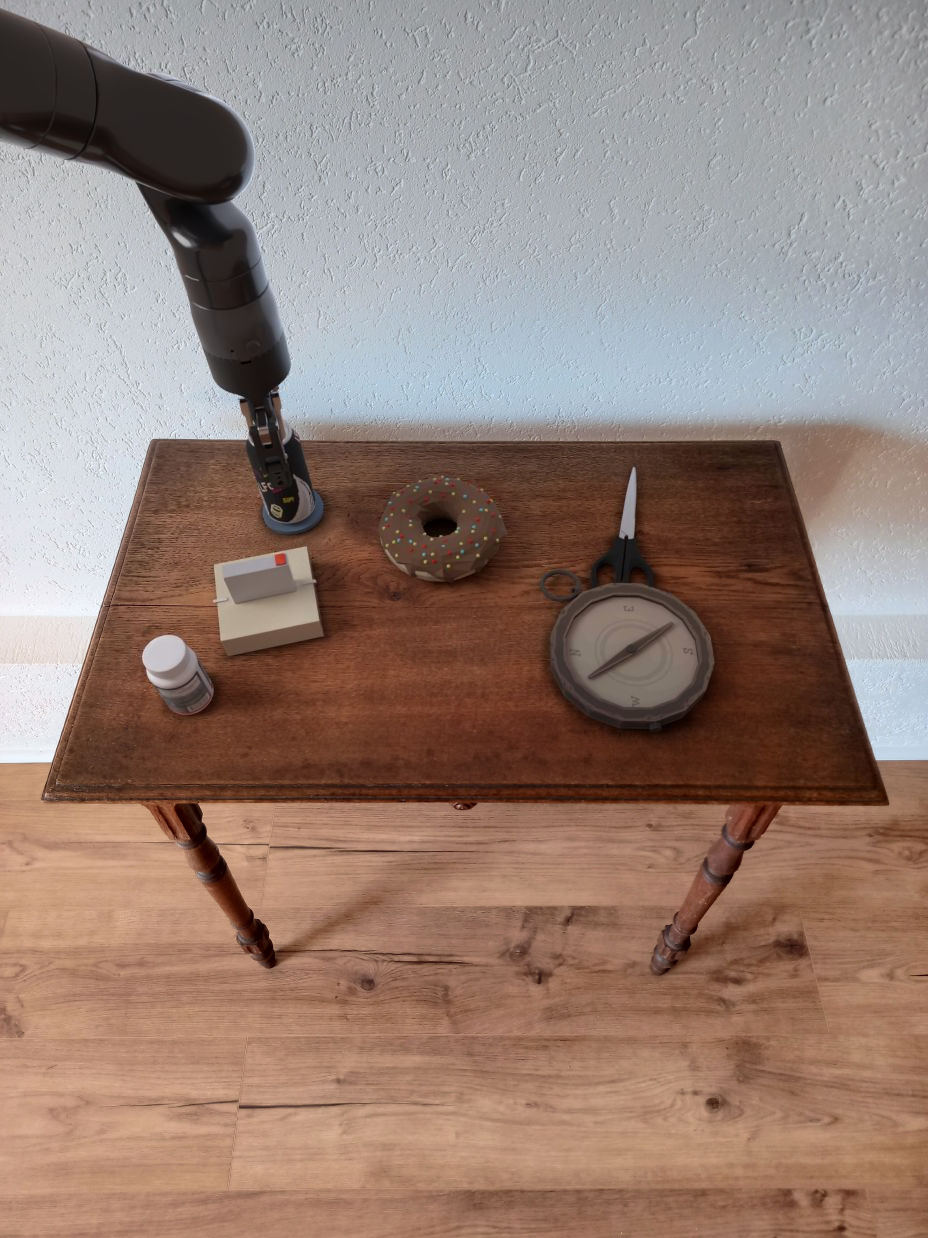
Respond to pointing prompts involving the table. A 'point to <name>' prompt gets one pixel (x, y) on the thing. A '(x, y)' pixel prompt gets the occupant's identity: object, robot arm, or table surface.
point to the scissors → (617, 550)
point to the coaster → (298, 526)
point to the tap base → (270, 610)
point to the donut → (445, 553)
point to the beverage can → (289, 500)
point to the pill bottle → (177, 675)
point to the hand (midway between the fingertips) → (278, 458)
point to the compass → (629, 654)
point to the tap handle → (259, 578)
